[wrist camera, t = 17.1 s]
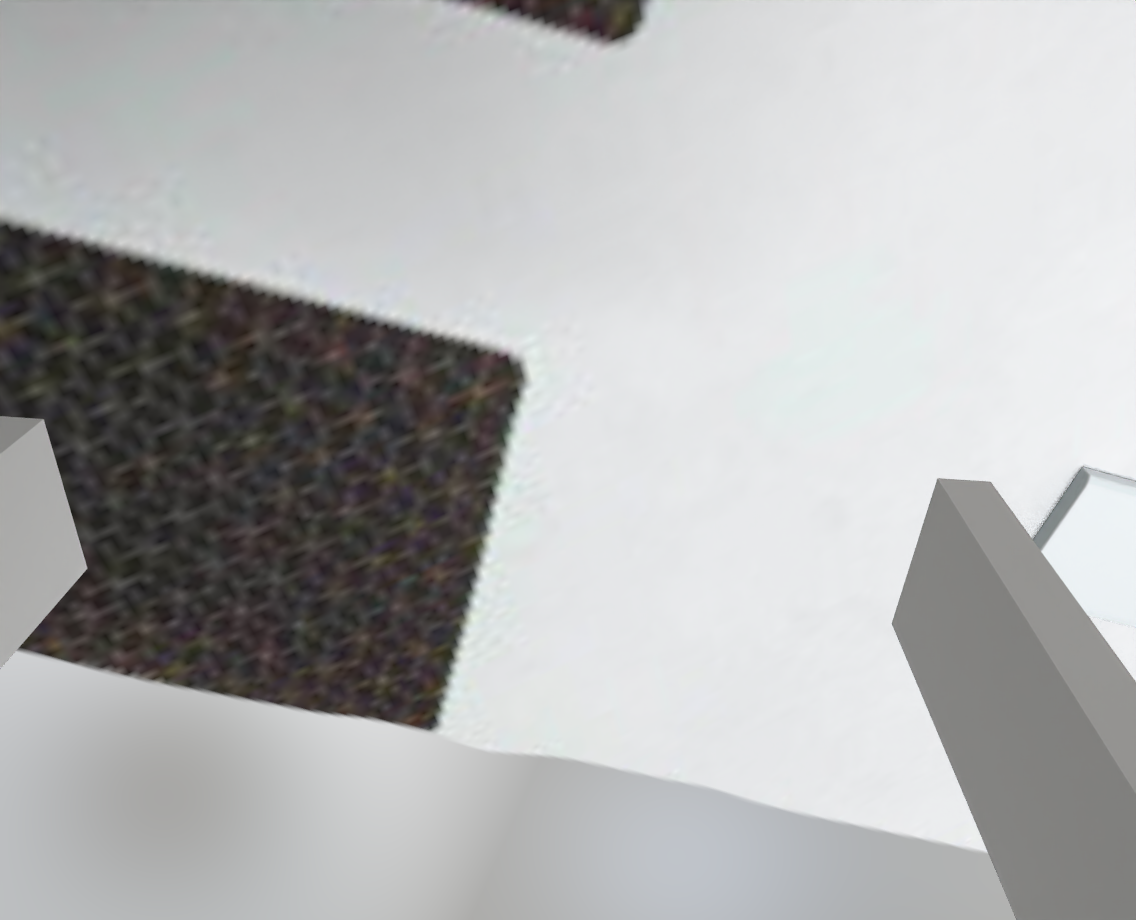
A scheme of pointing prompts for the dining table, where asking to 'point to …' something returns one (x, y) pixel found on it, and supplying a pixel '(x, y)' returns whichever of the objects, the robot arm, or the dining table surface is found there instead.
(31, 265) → the dining table surface
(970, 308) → the dining table surface
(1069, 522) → the external hard drive
